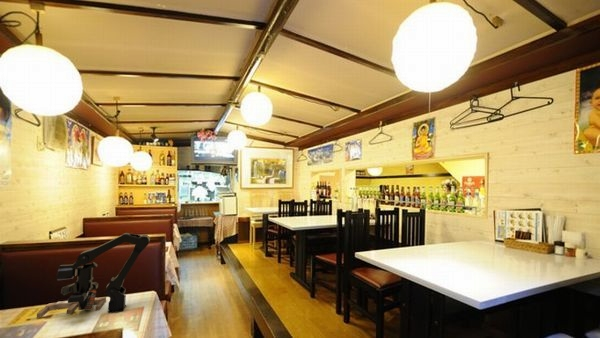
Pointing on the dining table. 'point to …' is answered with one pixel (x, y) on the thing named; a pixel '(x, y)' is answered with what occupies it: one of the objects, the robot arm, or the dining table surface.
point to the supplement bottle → (91, 301)
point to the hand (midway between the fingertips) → (82, 309)
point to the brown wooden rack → (69, 306)
